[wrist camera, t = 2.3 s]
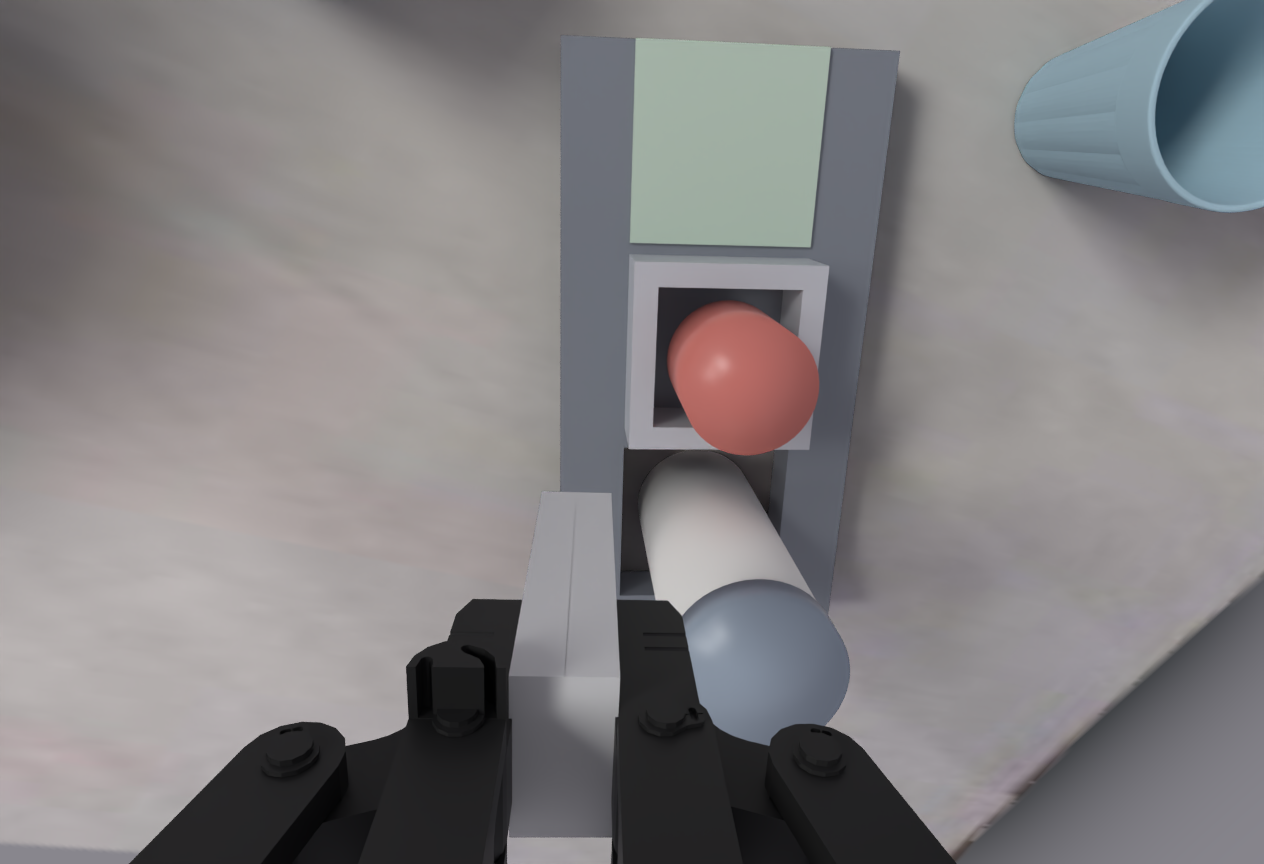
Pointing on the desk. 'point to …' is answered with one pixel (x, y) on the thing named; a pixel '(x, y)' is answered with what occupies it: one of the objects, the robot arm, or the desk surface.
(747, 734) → the cartridge
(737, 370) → the plunger
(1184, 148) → the cup
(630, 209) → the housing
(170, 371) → the desk surface
